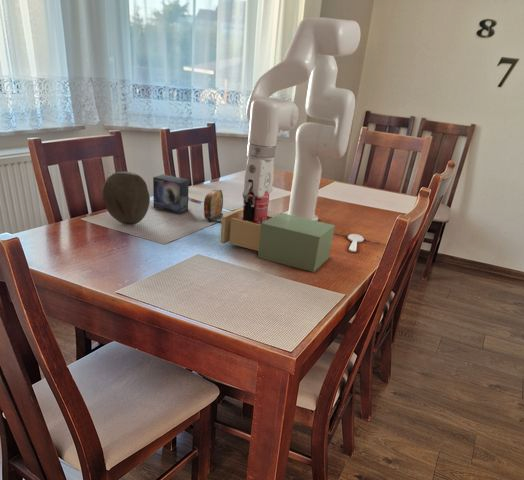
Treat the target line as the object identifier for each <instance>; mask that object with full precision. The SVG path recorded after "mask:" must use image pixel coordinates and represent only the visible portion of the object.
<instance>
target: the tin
mask: <svg viewBox="0 0 524 480" xmlns="http://www.w3.org/2000/svg"><path fill="white" fill-rule="evenodd" d="M223 205H224V194H223V191H222V189H212V190H211V191H210V192H208V193H207V194H206V195H205V197H204V199H203V216H204V219H205V220H207V219H208V218H210V217H212V216H214V215H217V214H219V213H222V211H223V207H224V206H223Z"/></svg>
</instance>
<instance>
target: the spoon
mask: <svg viewBox="0 0 524 480" xmlns="http://www.w3.org/2000/svg"><path fill="white" fill-rule="evenodd" d="M347 240H349V241H351V244H349V245H350V246H349V248H348V251H349V252H351V253H352V252H353V253H355V252H356V253H357V248H358V247H357V246H358V243H363V242H364V240H365V238H364V237H363V236H362V235H361V234H357V233H351V234H349V235H347Z"/></svg>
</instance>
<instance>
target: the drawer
mask: <svg viewBox="0 0 524 480" xmlns="http://www.w3.org/2000/svg"><path fill="white" fill-rule="evenodd" d="M242 213H243V207H240V208H238V209H235V210H233V211H231V212H228V213H225V214H223V213H222V212H221V213H219V214H217V215H214V216H212V217H210V218H208V219H206V220H207V222H208V223H216V224H220V236H219V237H220V239H219V244H222V245H225V244H226V243H229V244H231V245H234V246H238V247H242V248H245V249H249V250H253V251H257V252H258V250H259V241H260V232H261V225H260V224H256V223H251V222H247V221H243V220H242ZM272 217H274V216H273V215H268V214H267V220H268V219H270V218H272ZM219 219H221V220H219Z"/></svg>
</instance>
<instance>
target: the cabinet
mask: <svg viewBox="0 0 524 480" xmlns="http://www.w3.org/2000/svg"><path fill="white" fill-rule="evenodd" d="M335 228H336V225H335V224H330V223H326V222H323V221H319V220H318V221H314V220H310V219H305V218H301V217H297V216H292V215H288V214H284V212H280V213H278V214H276V215H274V216H273V217H272V218H270V219H268V220H266V221H265V222H263V223H261V232H260V241H259V250H258V251H257V258H259V259H263V260H266V261H269V262H274V263H277V264H282V265H285V266H288V267H293V268H296V269H300V270H304V271H307V272H310V273H315V271H317V270H318V269H319V268H320V267H321V266H322V265H323V264H324V263H325V262H327V260H329V259H330V254H331V249H332V244H333V239H334V233H335Z"/></svg>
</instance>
